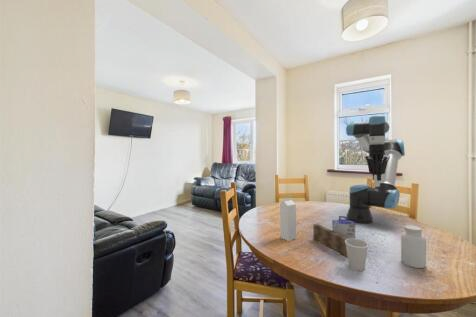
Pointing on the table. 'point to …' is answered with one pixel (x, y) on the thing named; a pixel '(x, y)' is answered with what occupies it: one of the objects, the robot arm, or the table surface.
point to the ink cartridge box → (344, 227)
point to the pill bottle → (413, 247)
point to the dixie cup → (356, 253)
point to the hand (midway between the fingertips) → (376, 186)
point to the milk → (288, 219)
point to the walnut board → (330, 239)
